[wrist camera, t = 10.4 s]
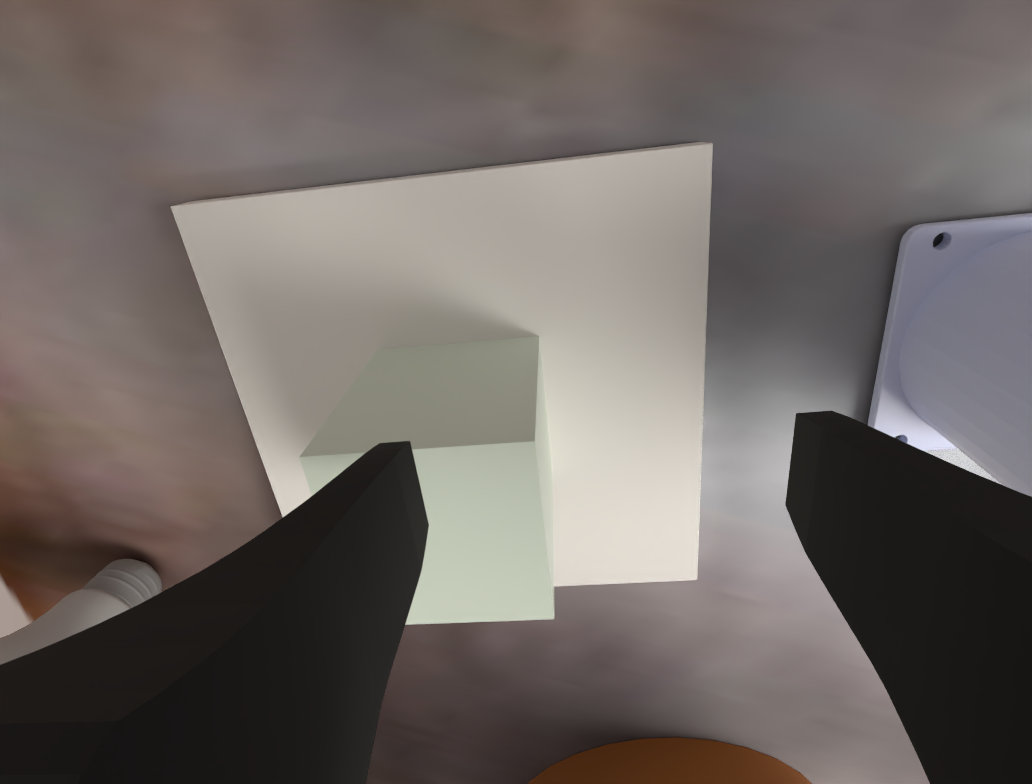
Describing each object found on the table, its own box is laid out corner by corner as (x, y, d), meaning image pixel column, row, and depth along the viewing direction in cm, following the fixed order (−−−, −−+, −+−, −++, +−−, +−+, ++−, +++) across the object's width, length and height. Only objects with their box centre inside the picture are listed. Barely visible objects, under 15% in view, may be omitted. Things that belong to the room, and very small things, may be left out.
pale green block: (539, 335, 18) (535, 441, 12) (552, 474, 21) (554, 619, 15) (377, 349, 19) (299, 456, 13) (408, 483, 21) (354, 626, 15)
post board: (702, 141, 17) (779, 154, 11) (690, 558, 24) (734, 695, 18) (192, 201, 18) (36, 238, 13) (321, 576, 25) (257, 708, 20)
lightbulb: (123, 625, 27) (-120, 916, 17) (47, 526, 25) (-287, 801, 15) (236, 607, 26) (48, 903, 16) (170, 501, 24) (-100, 778, 14)
